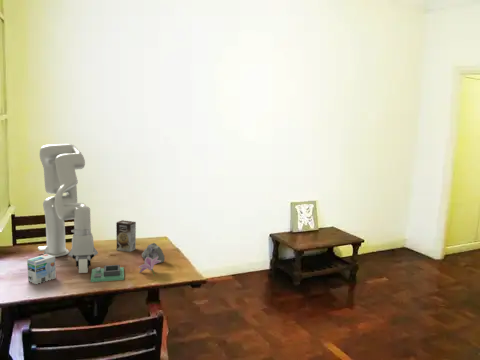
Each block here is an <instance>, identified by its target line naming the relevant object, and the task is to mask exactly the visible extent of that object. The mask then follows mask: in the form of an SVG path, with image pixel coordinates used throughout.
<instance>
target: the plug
mask: <svg viewBox="0 0 480 360" xmlns="http://www.w3.org/2000/svg"><path fill="white" fill-rule="evenodd" d="M87 260H88V256H87V255H81V256H79V269H78V274H86V273H88V271H89V268H88V266H87Z"/></svg>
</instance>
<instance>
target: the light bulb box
mask: <svg viewBox="0 0 480 360" xmlns="http://www.w3.org/2000/svg"><path fill="white" fill-rule="evenodd" d="M56 269H57V268H56V257H55V256H52V255H49V254H44V253H43V254H42V255H38V256H35V257H31V258H28V259H27V281H30V282H29V283H31V282H33V283H32V284H34V283H35V284H34V285H36V284H37V285H39V284H38V283H40V284H42V283H41V282H43V283H46V282H49V281H52V280H54V279H57V278H56V276H57V274H56V271H57V270H56ZM51 279H52V280H51ZM48 280H49V281H48ZM45 281H46V282H45Z"/></svg>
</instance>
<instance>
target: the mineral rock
mask: <svg viewBox="0 0 480 360" xmlns="http://www.w3.org/2000/svg"><path fill="white" fill-rule="evenodd" d="M158 256H159V257H158ZM141 257H142V258H143V259H144V260H145V258H146V257H150V258H151V259H152V260H153V259H154V258H156V257H158V259H157V260H161V262H159V263H157V265H158V264H162V263H164V261H165V260H166V259H165V254H164V252H163V250H162V248H161V246H159V245H157V243H155V242H153V243H150V244H148V245H147V248H145V249H144V251H143V252H141Z"/></svg>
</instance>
